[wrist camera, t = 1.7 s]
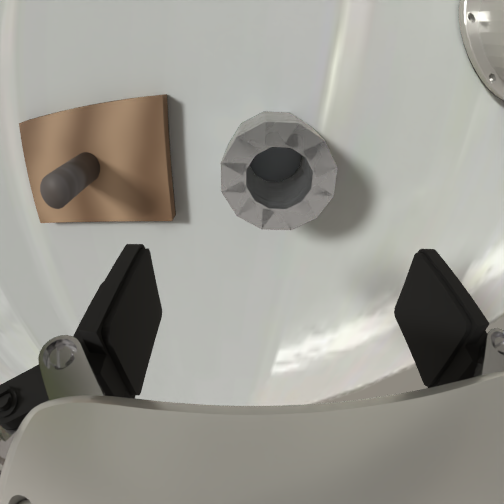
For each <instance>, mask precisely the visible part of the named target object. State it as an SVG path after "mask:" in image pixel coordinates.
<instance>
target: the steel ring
mask: <svg viewBox="0 0 504 504" xmlns="http://www.w3.org/2000/svg"><path fill="white" fill-rule="evenodd" d="M271 147H287V148H292V149H293V150H295V151H297V152H298V153H300V154H301V165H300V166H299V168H298V169H297V171H296V172H295V173H294V175H293V176H291V177H289V178H287V179H285V180H283V181H281V182H273V181H265V180H264V179H262V178H260V177H258V176H257V175H255V174H254V172H253V170H252V169H251V167H250V163H251V162H252V160H253V159H254V157H255V155H257V154H259V153H261V152H263V151H265V150H267V149H269V148H271ZM337 169H338V168H337V165H336V163H335V161H334V159H333V156H332V154H331V152H330V150H329V148H328V146H327V143H326V141H325V140H324V139H323V138H322V137H321V136H320V135H319V134H318V133H317V132H316V131H315V130H314V129H313V128H312V127H311V126H309V125H308V124H306V123H305V122H303V121H302V120H300V119H299V118H297V117H296V116H294V115H292V114H291V113H285V112H262V113H260V114H258V115H256V116H254V117H252V118H250V119H248V120H246V121H244V122H243V123H241V124H240V126H239V127H238V129H237V131H236V132H235V134H234V135H233V137H232V139H231V140H230V142H229V144H228V146H227V148H226V151H225V154H224V156H223V159H222V162H221V189H222V194H223V195H224V197H225V198H226V200H227V201H228V203H229V204H230V206H231V207H232V209H233V211H234V212H235V214H236V215H237V216H238V217H240V218H242V219H244V220H246V221H247V222H249V223H251V224H253V225H255V226H257V227H259V228H261V229H271V230H292V229H294V228H296V227H298V226H301V225H303V224H305V223H307V222H309V221H312V220H314V219H316V218H317V217H318V216H319V214H320V213H321V212H322V211H323V209H324V208H325V207H326V205H327V204H328V203H329V202H330V200H331V199H332V198H333V196H334V191H335V184H336V176H337Z"/></svg>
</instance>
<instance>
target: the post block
mask: <svg viewBox="0 0 504 504" xmlns="http://www.w3.org/2000/svg"><path fill="white" fill-rule="evenodd" d="M19 126H20V133H21V140H22V146H23V152H24V157H25V162H26V167H27V172H28V177H29V181H30V185H31V189H32V193H33V197H34V201H35V205H36V209H37V212H38V216H39V219H40V222H41V223H55V222H100V221H173V219H174V217H175V215H176V213H175V203H174V193H173V182H172V171H171V158H170V143H169V127H168V105H167V94H166V95H156V96H146V97H138V98H130V99H123V100H117V101H110V102H104V103H99V104H93V105H88V106H83V107H78V108H74V109H69V110H65V111H60V112H56V113H52V114H48V115H45V116H41V117H37V118H34V119H30V120H27V121H24V122H22V123H19Z"/></svg>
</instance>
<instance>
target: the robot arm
mask: <svg viewBox="0 0 504 504" xmlns="http://www.w3.org/2000/svg"><path fill="white" fill-rule="evenodd" d="M459 23H460V31H461V35H462V39H463V43H464V46H465V48H466V51H467V54H468V57H469V59H470V61H471V63H472V65H473V67H474V69H475V71H476V72H477V74H478V75H479V77H480V79H481V80H482V81H483V83H484V84H485V85H486V86H487V88H488V89H489V90H490V91H491V92H492V93H494V94H495V95H496V96H497V97H499V98H500V99H502V100H503V101H504V0H460V4H459ZM394 314H395V318H396V320H397V322H398V324H399V326H400V329H401V331H402V333H403V335H404V337H405V340H406V342H407V344H408V347H409V349H410V351H411V354H412V356H413V358H414V361H415V363H416V366H417V368H418V370H419V373H420V376H421V378H422V381H423V383H424V385H425V386H428V388H427V389H422V390H417V391H412V392H407V393H401V394H395V395H389V396H382V397H376V398H369V399H361V400H353V401H344V402H333V403H322V404H307V405H287V406H220V405H200V404H185V403H172V402H161V401H151V400H142V399H135V395H140V393H141V390H142V386H143V382H144V378H145V374H146V370H147V367H148V363H149V359H150V356H151V352H152V348H153V345H154V341H155V338H156V334H157V331H158V328H159V324H160V321H161V317H162V307H161V303H160V298H159V294H158V289H157V285H156V280H155V275H154V270H153V265H152V260H151V254H150V251H149V249H145V247H144V245H143V244H127V245H126V246H125V247H124V249H123V251H122V252H121V254H120V256H119V257H118V259H117V261H116V262H115V264H114V266H113V267H112V269H111V271H110V272H109V274H108V276H107V278H106V279H105V281H104V282H103V283H102V284H101V285H100V287H99V289H98V291H97V293H96V294H95V296H94V298H93V300H92V302H91V303H90V305H89V307H88V309H87V311H86V313H85V315H84V317H83V318H82V320H81V322H80V324H79V326H78V328H77V330H76V332H75V334H74V336H69V335H60V336H57V337H54V338H53V339H51V340H49V341H48V342H47V343H46V344H45V345H44V346H43V347H42V349H41V351H40V354H39V365H37V366H35V367H33V368H32V369H30V370H28V371H26V372H24V373H22V374H20V375H18V376H16V377H15V378H13V379H11V380H9V381H7V382H5V383H3V384H1V385H0V504H504V330H502V329H499V328H494V329H491V330H490V331H489V332H488V334H487V333H486V331H485V330H486V328H487V327H488V325H489V322H488V321H487V319H486V318H485V316H484V315H483V313H482V312H481V310H480V309H479V307H478V306H477V304H476V303H475V302H474V300H473V299H472V297H471V296H470V294H469V293H468V292H467V290H466V289H465V288H464V286H463V285H462V283H461V282H460V281H459V279H458V278H457V277H456V275H455V274H454V273H453V272H452V270H451V269H450V268H449V266H448V265H447V264H446V263H445V261H444V260H443V259H442V258H441V256H440V255H439V254H438V253H437V251H436V250H434V249H420V250H419V251H418V253H416V254H415V255H414V258H413V261H412V264H411V266H410V269H409V272H408V275H407V278H406V280H405V283H404V286H403V288H402V291H401V294H400V296H399V299H398V301H397V304H396V306H395V311H394Z"/></svg>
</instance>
